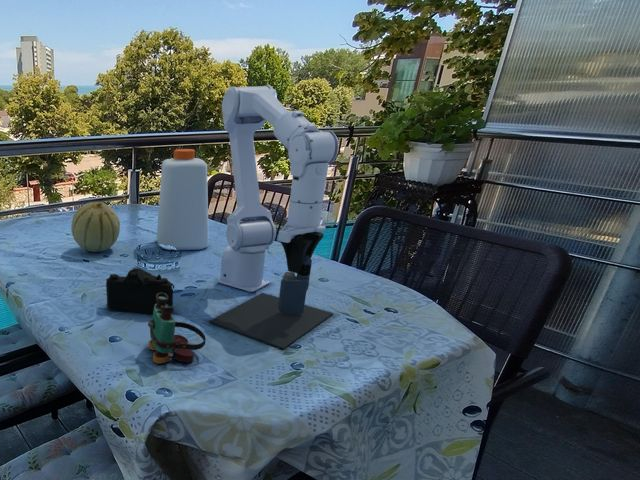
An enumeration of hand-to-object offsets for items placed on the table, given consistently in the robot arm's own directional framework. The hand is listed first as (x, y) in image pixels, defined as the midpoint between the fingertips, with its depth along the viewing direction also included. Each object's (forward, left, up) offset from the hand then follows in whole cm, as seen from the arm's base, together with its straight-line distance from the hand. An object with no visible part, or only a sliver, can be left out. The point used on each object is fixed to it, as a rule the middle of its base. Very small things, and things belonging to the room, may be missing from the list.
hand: (297, 270), depth 91 cm
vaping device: (0, 0, -9) cm, 9 cm away
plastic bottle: (-49, +25, -10) cm, 56 cm away
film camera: (-26, -17, -10) cm, 33 cm away
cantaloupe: (-64, +3, -10) cm, 65 cm away
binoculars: (-7, -28, -10) cm, 31 cm away
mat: (-2, -4, -10) cm, 11 cm away
